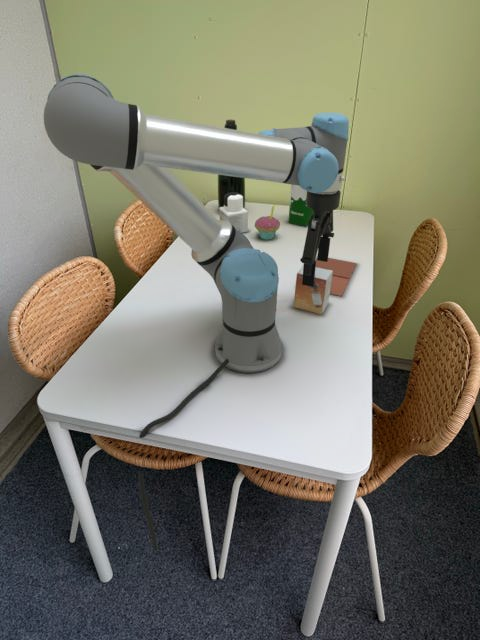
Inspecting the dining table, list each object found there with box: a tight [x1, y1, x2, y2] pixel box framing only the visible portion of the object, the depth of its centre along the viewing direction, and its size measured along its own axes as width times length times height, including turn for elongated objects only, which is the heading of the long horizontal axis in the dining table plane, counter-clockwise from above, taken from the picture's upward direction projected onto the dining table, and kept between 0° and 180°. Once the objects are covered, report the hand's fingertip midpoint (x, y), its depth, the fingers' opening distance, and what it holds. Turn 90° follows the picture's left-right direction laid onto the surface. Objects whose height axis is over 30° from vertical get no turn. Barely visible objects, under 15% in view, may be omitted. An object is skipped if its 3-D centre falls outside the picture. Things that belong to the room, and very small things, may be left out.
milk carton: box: [288, 184, 314, 227], centre depth 157 cm, size 9×9×20 cm
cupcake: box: [254, 204, 281, 241], centre depth 149 cm, size 9×8×12 cm
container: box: [218, 192, 249, 234], centre depth 153 cm, size 8×8×13 cm
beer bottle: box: [217, 119, 246, 211], centre depth 162 cm, size 10×10×33 cm
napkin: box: [315, 257, 357, 297], centre depth 130 cm, size 20×12×1 cm, turn 157°
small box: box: [293, 264, 333, 316], centre depth 114 cm, size 8×6×10 cm
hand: (315, 272), depth 111 cm, fingers open, 13 cm apart
